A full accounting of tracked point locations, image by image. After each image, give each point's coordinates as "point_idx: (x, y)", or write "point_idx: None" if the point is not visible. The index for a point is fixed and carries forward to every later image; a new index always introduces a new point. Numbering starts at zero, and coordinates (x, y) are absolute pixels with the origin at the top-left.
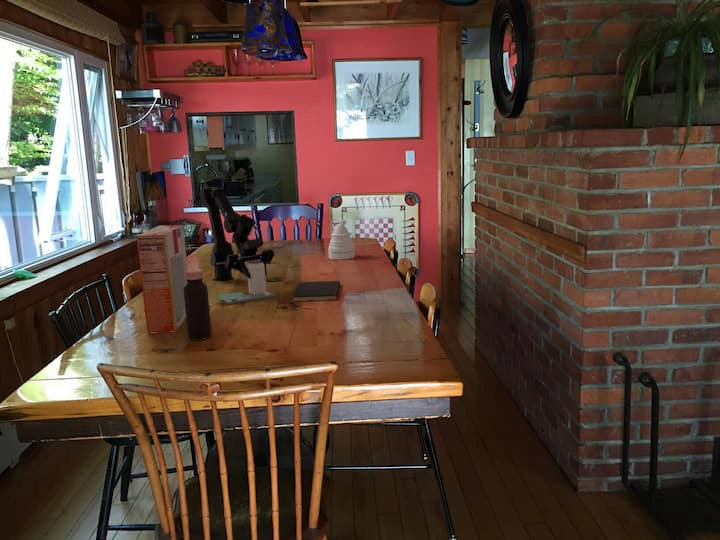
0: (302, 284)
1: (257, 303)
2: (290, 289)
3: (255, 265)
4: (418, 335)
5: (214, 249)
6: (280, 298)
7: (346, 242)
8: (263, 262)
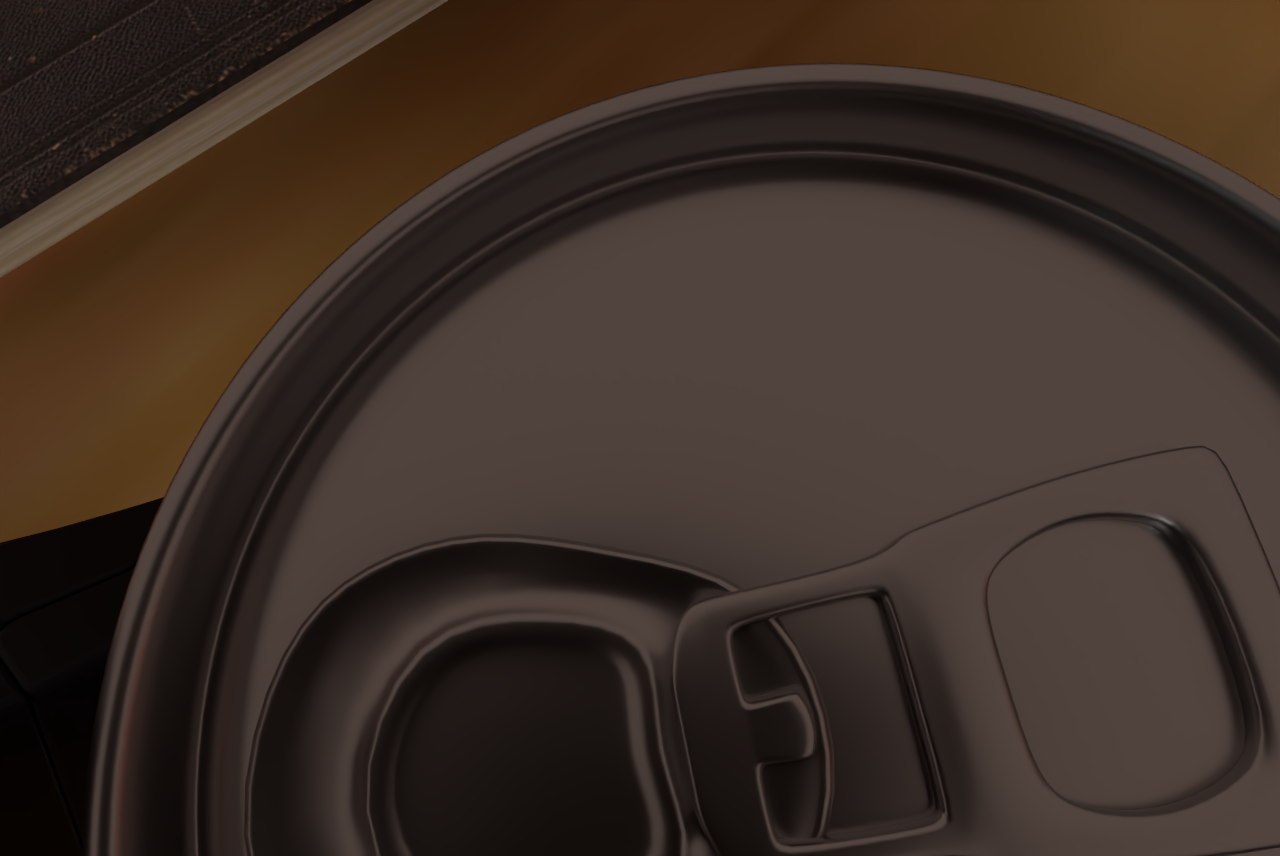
0: (71, 86)
1: (1231, 94)
2: (232, 286)
3: (1192, 292)
4: None
5: None
6: (788, 16)
7: None
8: (9, 661)
